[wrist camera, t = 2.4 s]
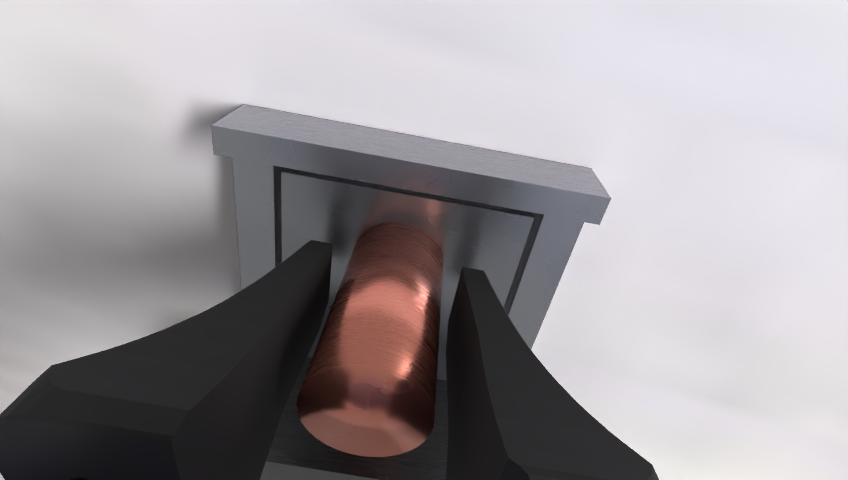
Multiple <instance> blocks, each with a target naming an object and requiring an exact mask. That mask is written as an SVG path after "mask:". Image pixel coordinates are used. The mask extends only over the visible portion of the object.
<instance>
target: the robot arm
mask: <svg viewBox="0 0 848 480" xmlns="http://www.w3.org/2000/svg"><path fill="white" fill-rule="evenodd" d="M332 246H333V244H332V243H326V242H320V241H315V240H310V241H309V242H307V243H306V244H305V245H303V246H302V247H301V248H300V249H298V250H297V251H296V252H295V253H293V254H292V255H291V256H290V257H288V258H287V259H286V260H284V261H283V262H282V263H280V264H279V265H278V266H276V267H275V268H274V269H272V270H271V271H270V272H268V273H267V274H265V275H264V276H263V277H261V278H260V279H258V280H257V281H255V282H254V283H252V284H251V285H249V286H248V287H246V288H245V289H243V290H241V291H240V292H238V293H237V294H235V295H234V296H232V297H230V298H229V299H227V300H225V301H223V302H222V303H220V304H218V305H216V306H214V307H212V308H210V309H208V310H206V311H204V312H202V313H200V314H198V315H196V316H194V317H191V318H189V319H187V320H185V321H182V322H180V323H178V324H176V325H173V326H171V327H169V328H166V329H164V330H162V331H159V332H157V333H154V334H151V335H149V336H146V337H143V338H141V339H138V340H135V341H132V342H129V343H126V344H123V345H121V346H117V347H114V348H111V349H108V350H105V351H101V352H98V353H94V354H91V355H87V356H84V357H80V358H77V359H73V360H70V361H66V362H63V363H59V364H55V365H52V366H51V367H49V368H48V369H47V370H46V371H45V372H44V373H43V374H42V375H41V376H39V377H38V378H37V379H36V380H35V381H34V382H33V383H32V384H31V385H30V386H29V387H28V388H27V389H26V390H25V391H24V392H23V393H22V394H21V395H20V396H19V397H18V398H17V399H16V400H15V401H14V402H13V403H11V404H10V405H9V406H8V407H7V408H6V409H5V410H4V411H3V412H2V413H1V414H0V473H1V474H2V476H3V477H4V479H5V480H260V477H261V474H262V471H263V468H264V465H265V462H266V459H267V456H268V453H269V450H270V447H271V444H272V441H273V438H274V435H275V432H276V430H277V427H278V424H279V421H280V418H281V415H282V412H283V410H284V407H285V405H286V402H287V400H288V397H289V395H290V393H291V391H292V388H293V386H294V384H295V382H296V380H297V378H298V376H299V373H300V371H301V369H302V367H303V365H304V363H305V360H306V358H307V356H308V354H309V352H310V350H311V347H312V345H313V343H314V341H315V339H316V336H317V334H318V332H319V330H320V327H321V324H322V321H323V317H324V314H325V311H326V308H327V305H328V301H329V293H330V277H331V262H332ZM446 374H447V401H448V449H447V466H446V480H659V478H658V476H657V474H656V472H655V470H654V468H653V466H652V464H650V463H649V462H648V461H647V460H645V459H644V458H643V457H641V456H640V455H639V454H637V453H636V452H635V451H634V450H632V449H631V448H630V447H628V446H627V445H626V444H625V443H623V442H622V441H621V440H619V439H618V438H617V437H616V436H614V435H613V434H612V433H611V432H609V431H608V430H607V429H606V428H605V427H604V426H603V425H601V424H600V423H599V422H598V421H597V420H596V419H595V418H593V417H592V416H591V415H590V414H589V413H588V412H587V411H586V410H585V409H584V408H583V407H582V406H581V405H579V404H578V403H577V402H576V401H575V400H574V399H573V398H572V397H571V396H570V395H569V394H568V392H567V391H566V390H565V389H564V388H563V387H562V386H561V385H560V384H559V383H558V382H557V381H556V380H555V379H554V378H553V377H552V375H551V374H550V373H549V372H548V371H547V370H546V368H545V367H544V366H543V365H542V364H541V362H540V361H539V360H538V359H537V357H536V356H535V355H534V354H533V352H532V351H531V350H530V348H529V347H528V345H527V344H526V342H525V341H524V340H523V338H522V337H521V335H520V334H519V332H518V331H517V329H516V328H515V326H514V324H513V323H512V321H511V319H510V318H509V316H508V314H507V313H506V311H505V309H504V308H503V306H502V304H501V302H500V300H499V298H498V297H497V295H496V293H495V291H494V289H493V287H492V285H491V283H490V281H489V279H488V277H487V275H486V273H485V272H484V270H479V269H473V268H467V267H462V270H461V274H460V278H459V282H458V286H457V289H456V293H455V297H454V301H453V305H452V308H451V312H450V316H449V320H448V331H447V342H446Z"/></svg>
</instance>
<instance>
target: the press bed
mask: <svg viewBox="0 0 848 480" xmlns="http://www.w3.org/2000/svg"><path fill="white" fill-rule="evenodd" d="M211 129H212V140H213V150H214V155H218V156H224V157H229V158H232V166H233V180H234V194H235V208H236V222H237V235H238V249H239V263H240V277H241V290H243V289H245V288H246V287H248V286H249V285H251V284H252V283H254V282H255V281H257V280H258V279H260V278H261V277H263V276H264V275H265V274H267V273H268V272H270V271H271V270H272V269H274V268H275V267H276V266H278V265H279V264H280V263H282V213H281V172H282V171H283V169H284V168H290V169H295V170H301V171H306V172H312V173H317V174H323V175H329V176H334V177H340V178H345V179H351V180H356V181H362V182H367V183H373V184H378V185H384V186H389V187H395V188H400V189H406V190H411V191H417V192H422V193H428V194H433V195H439V196H444V197H450V198H455V199H461V200H466V201H472V202H477V203H483V204H488V205H494V206H499V207H505V208H510V209H516V210H521V211H527V212H532V213H534V220H533V223H532V226H531V229H530V232H529V235H528V238H527V241H526V244H525V246H524V249H523V252H522V255H521V258H520V261H519V264H518V267H517V270H516V273H515V276H514V278H513V281H512V284H511V287H510V290H509V293H508V296H507V299H506V302H505V305H504V307H503V308H504V309H505V311H506V313H507V314H508V316H509V318H510V319H511V321H512V323H513V324H514V326H515V328H516V329H517V331H518V332H519V334H520V335H521V337H522V338H523V340H524V341H525V342H526V344H527V345H528V347H529V348H530V350H531V348H532V346H533V344H534V341H535V339H536V336H537V334H538V332H539V329H540V327H541V324H542V322H543V320H544V317H545V315H546V312H547V310H548V308H549V305H550V303H551V300H552V298H553V296H554V293H555V291H556V288H557V286H558V284H559V281H560V279H561V276H562V274H563V272H564V269H565V267H566V264H567V262H568V260H569V257H570V255H571V252H572V250H573V248H574V245H575V243H576V240H577V238H578V236H579V233H580V231H581V228H582V226H583V224H584V222H588V223H593V224H599V225H600V222H601V220H602V218H603V216H604V213H605V211H606V209H607V206H608V204H609V202H610V200H611V198H610V196H609V195H608V193H607V191H606V190H605V188H604V187H603V185H602V184H601V182H600V181H599V179H598V178H597V176H596V175H595V173H594V172H593V170H592V169H591V168H586V167H580V166H575V165H570V164H564V163H559V162H553V161H548V160H542V159H537V158H532V157H526V156H521V155H515V154H510V153H505V152H499V151H494V150H488V149H483V148H478V147H472V146H467V145H461V144H456V143H451V142H445V141H440V140H434V139H429V138H424V137H418V136H413V135H407V134H402V133H396V132H391V131H386V130H380V129H375V128H369V127H364V126H359V125H353V124H348V123H342V122H337V121H332V120H326V119H321V118H315V117H310V116H305V115H299V114H294V113H288V112H283V111H278V110H272V109H267V108H261V107H256V106H250V105H245V104H244V105H242V106H241V107H239V108H237V109H236V110H234V111H233V112H231V113H229V114H228V115H226V116H225V117H223V118H222V119H220V120H218V121H217V122H215V123H214V124H212V125H211Z"/></svg>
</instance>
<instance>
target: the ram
mask: <svg viewBox="0 0 848 480" xmlns="http://www.w3.org/2000/svg"><path fill="white" fill-rule="evenodd" d="M281 213H282V262H283V261H284V260H286V259H287V258H288V257H290V256H291V255H292V254H293V253H295V252H296V251H297V250H298V249H300V248H301V247H302V246H303V245H305V244H306V243H307V242H309V241H310V240H315V241H320V242H326V243H332V244H333V246H332V262H331V277H330V293H329V301H328V305H327V308H326V311H325V314H324V317H323V321H322V324H321V327H320V330H319V332H318V334H317V336H316V339H315V341H314V343H313V345H312V347H311V350H310V352H309V354H308V356H307V358H306V360H305V363H304V365H303V367H302V369H301V371H300V373H299V376H298V378H297V380H296V382H295V384H294V386H293V388H292V391H291V393H290V395H289V397H288V400H287V402H286V405H285V407H284V410H283V412H282V415H281V418H280V421H279V424H278V427H277V430H276V432H275V435H274V438H273V441H272V444H271V447H270V450H269V453H268V456H267V459H266V462H265V465H264V468H263V471H262V474H261V477H260V480H446V466H447V449H448V401H447V374H446V342H447V331H448V320H449V316H450V312H451V308H452V305H453V301H454V297H455V293H456V289H457V286H458V282H459V278H460V274H461V270H462V267H467V268H473V269H479V270H484V272H485V273H486V275H487V277H488V279H489V281H490V283H491V285H492V287H493V289H494V291H495V293H496V295H497V297H498V298H499V300H500V302H501V304H502V306H503V307H504V305H505V302H506V299H507V296H508V293H509V290H510V287H511V284H512V281H513V278H514V276H515V273H516V270H517V267H518V264H519V261H520V258H521V255H522V252H523V249H524V246H525V244H526V241H527V238H528V235H529V232H530V229H531V226H532V223H533V220H534V215H533V213H532V212H527V211H521V210H516V209H510V208H505V207H499V206H494V205H488V204H483V203H477V202H472V201H466V200H461V199H455V198H450V197H444V196H439V195H433V194H428V193H422V192H417V191H411V190H406V189H400V188H395V187H389V186H384V185H378V184H373V183H367V182H362V181H356V180H351V179H345V178H340V177H334V176H329V175H323V174H317V173H312V172H306V171H301V170H295V169H290V168H284V169H283V171H282V172H281Z"/></svg>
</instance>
